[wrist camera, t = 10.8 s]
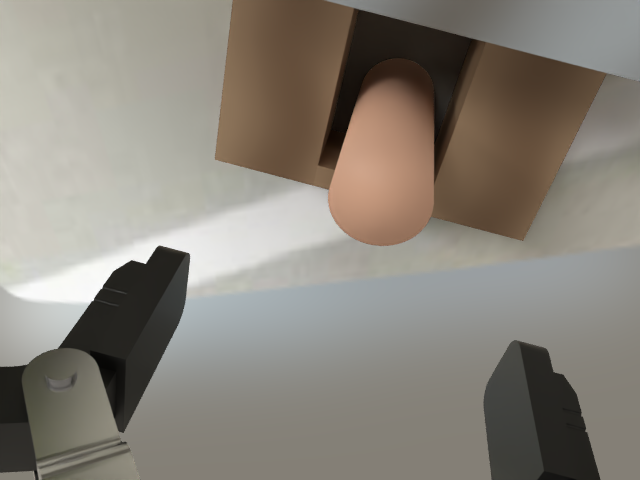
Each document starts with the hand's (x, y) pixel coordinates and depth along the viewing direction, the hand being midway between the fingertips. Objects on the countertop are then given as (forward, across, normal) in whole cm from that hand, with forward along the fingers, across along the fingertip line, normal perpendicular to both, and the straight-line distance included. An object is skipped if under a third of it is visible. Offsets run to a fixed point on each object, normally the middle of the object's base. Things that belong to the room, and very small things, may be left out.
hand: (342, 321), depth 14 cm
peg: (+16, -1, 0) cm, 16 cm away
